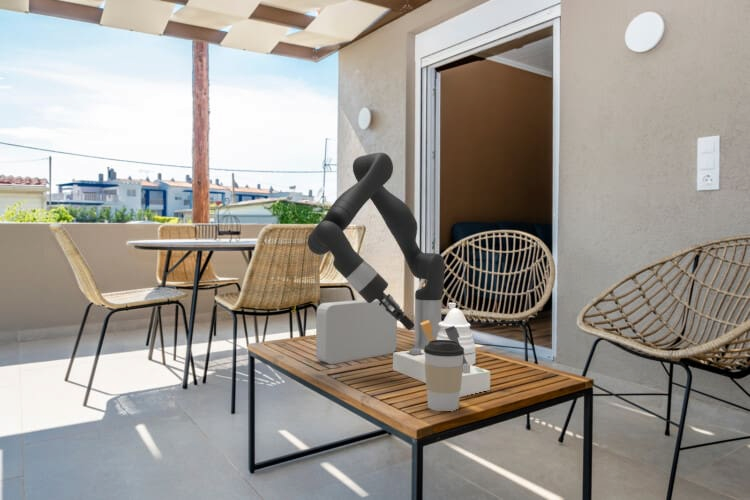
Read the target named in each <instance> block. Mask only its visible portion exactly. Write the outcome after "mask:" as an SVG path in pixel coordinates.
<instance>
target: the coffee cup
mask: <svg viewBox="0 0 750 500" xmlns="http://www.w3.org/2000/svg"><path fill="white" fill-rule="evenodd" d="M424 348H425V350H424V352H425V376H426V383H425V389H426V392H427V393H426V396H427V407H428V409H430V410H432V411H435V412H440V411H451V412H454V410H455V411H457V410H459V408H460V407H459V406H460V398H461V397H460V390H461V381H462V370H463V354H464V348H463V347H462V346H460V344H459V342H456V341H451V340H433V341H430V342H429V344H428V345H426V346H425V347H424ZM456 409H457V410H456Z"/></svg>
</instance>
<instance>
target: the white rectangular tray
mask: <svg viewBox="0 0 750 500" xmlns="http://www.w3.org/2000/svg"><path fill="white" fill-rule="evenodd" d="M392 370H393V371H394V372H398V373H400V374H402V375H405V376H406V377H410V378H413V379H414V380H416V381H419V382H421V383H425V384H426V376H425V352H424V350H422V349H421V355H417V356H412V355H409V350H405V351H402V350H401V351H396V352H395V351H394V352H393V353H392ZM487 390H490V391H491V371H490V370H487V369H485V368H482V367H478V366H475V365H470V364H463V370H462V381H461V390H460V397H459V398H461V397H467V395H468V396H471V394H473V395H476V394H475V393H478V394H480V393H479V392H482V393H484V392H483V391H487ZM487 392H488V391H487Z"/></svg>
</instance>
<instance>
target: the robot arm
mask: <svg viewBox="0 0 750 500" xmlns="http://www.w3.org/2000/svg"><path fill="white" fill-rule="evenodd" d="M352 172H353V175H354V178H355V180H356V183H355V184H353V185H352V186H350V188H348V189H346V191H343V193H342V194H340V195H339V196H338V198H337V199H336V200H334V202H333V204H332V205H331V206H330V207H329V209H328V210H327V212H326V214H325V216H324V217H322V218H323V219H321V220H320V222H318V224H317V225H316V226H315V228H314V229H313V230H312V231H311V232H310V234H309V235H308V237H307V246H308V249H309V250H310V251H311V252H312V253H313V254H315V255H318V256H319V255H326V254H328V253H329V252H330V253H331V255H332V256H333V257H334V258H333V261H332V265H333V267H334V268H335V269H336V270H337V271H338V273H339V274H340V275H341V276H342V277H344V278H345V280H346V281H347V282H348V284H349V285H350V286H351V288H353V289H354V291H356V293H358V295H360V296H361V297H362V299H363V300H366V301H367V302H368V303H371V302H373V301H374V300H375V299H378V300H379V301H380V303H379V306H380V307H381V308H382V309H385V310H386V311H387V312H388V313H389V314H390V315H391V316H393V317H394V318H395V319H396V320H397V322H400V323H401V324H402V325H403V327H405V328H406V329H407V330H408V331H411V330H412V329H413V328H414V337H413V338H414V344H413V345H414V347H413V348H419V349H422V350H425V348H424V347H425V346H426V345H428V344H429V342H430V341H429V339H428V336H427V333H424V332H423V329H422V327H421V324H420V323H422V322H424V321H427V320H429V321H430V323H431V326H432V328H433V331H431V332H432V335H433V337H434V340H436V339H437V337H438V333H439V331H440V328H441V327H440V326H439V325H438V324H439V322H442V321H443V320H442V302H443V301H442V298H443V297H442V295H443V293H444V287H445V285H444V283H445V269H446V266H445V259H444V257H443V256H442V255H441V254H439V253H436V252H435V253H434V252H423V251H422V250H421V249H420V247H419V245H418V243H417V234H418V222H417V219H416V218H415V216H414V214H413V212H412V210H411V209H410V207H409V205H407V204H406V203H405V202H404V201H403V200H401V199H400V197H397V196H396V195H394V194H393V193H392V192H390V191H389V190H387V188H386V187H385V184H386V183H388V182H389V180H390V179H391V177H392V176H393V174H394V173H393V172H394V164H393V161H392V159H391V157H390V156H389V155H388V154H387V153H384V152H375V153H369V154H366V155H365V154H364V155H361V156H358V157H356V158H355V159H354V160H353V163H352ZM369 200H371V202H372V204H373V205H374V206H375V208H376V210H377V212H378V213H379V215H380V216H381V217H382V219H383V221H384V223H385V224H386V227H387V229H388V230H389V231H390V233H391V235H392V236H393V238H394V239H395V241H396V243H397V245H398V247H399V249H400V251H401V252H402V255H403V256H404V259H405V261H406V263H407V265H408V268H409V271H410V272H411V274H412V276H414V278H417V279H419V280H426V283H425V286H424V287H422V288H419V289H417V290H415V293H414V322H413V321H412V320H411V319H410V318H409V317H408V316H407V315H406V314H405V311H403V310H402V309H401V306H400V305H399V303H398V302H396V300H395V299H394V297H393V296H392V295H391V294H390V293H388V294H386V293H385V292H384V291H386V290H387V288H388V286H389V283H388V282H387V281H386V280H385V278H383V277H382V275H381V274H380V273H379V272H378V271H376V270H375V269H374V267H372V265H370V264H369V262H367V261H366V260H365V259H364V258H363V257H362V256H361V255H360V254H358V252H357V251H356V250H355V249H354V248H353V246H352V244H351V242H350V241H349V240H348V239H349V238H348V237H347V236H346V234H345V232H344V230H346V229H347V228H348V227H349V225H350V224H351V223H352V222H353V220H354V218H355V217H356V216H357V215H358V213H359V211H360V210H361V209H362V207H363V206H364V205H366V203H367V202H368V201H369Z"/></svg>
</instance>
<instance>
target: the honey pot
mask: <svg viewBox="0 0 750 500" xmlns="http://www.w3.org/2000/svg"><path fill="white" fill-rule="evenodd" d="M447 306H448V309H450V310H449V311H448V312H447V314H446V315H445V317H444V319H443V320H441V321H442V322H439V324H438V325H439V326H440V327H441V328H440V331H439V333H438V337H437V339H436V340H450V339H449V338H448V336H447V334H446V331H445V329H446V328H449V327H452V326H454V327H455V328H456V329H457V331H458V334H459V338H457V339H458V341H459V344H460V346H462V347H463V348H464V357H465V359H466V362H467V363H468V364H470V365H472V366H474V365H475V364H476V355H477V353H476V348H477V347H476V344H475V341H474V337H473V334H472V331H471V328H470V327H471V324H470V322H468V320H467V318H466V316H465V314H464V313H463V312H462V311H461V310H460V309H459V308H458V307H456V306H457V303H455V302H448V303H447ZM451 341H452V340H451Z"/></svg>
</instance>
